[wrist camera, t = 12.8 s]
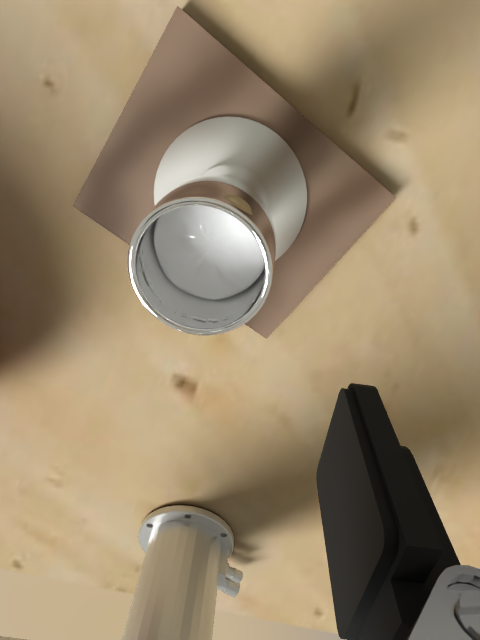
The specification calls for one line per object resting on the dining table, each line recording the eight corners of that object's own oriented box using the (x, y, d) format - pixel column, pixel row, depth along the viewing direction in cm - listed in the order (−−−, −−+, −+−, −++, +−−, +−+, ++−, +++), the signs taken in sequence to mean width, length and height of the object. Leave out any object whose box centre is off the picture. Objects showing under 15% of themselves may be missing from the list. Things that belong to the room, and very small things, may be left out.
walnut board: (391, 194, 31) (397, 198, 30) (266, 332, 38) (266, 340, 36) (181, 9, 27) (176, 4, 25) (79, 203, 33) (71, 206, 32)
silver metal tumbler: (169, 217, 32) (98, 290, 18) (214, 137, 29) (167, 156, 15) (242, 263, 33) (224, 363, 20) (292, 192, 30) (309, 253, 17)
